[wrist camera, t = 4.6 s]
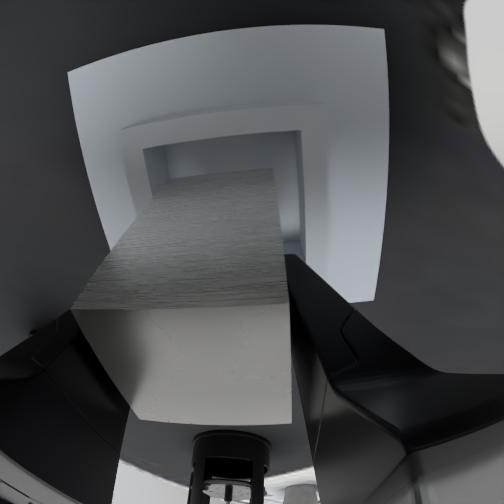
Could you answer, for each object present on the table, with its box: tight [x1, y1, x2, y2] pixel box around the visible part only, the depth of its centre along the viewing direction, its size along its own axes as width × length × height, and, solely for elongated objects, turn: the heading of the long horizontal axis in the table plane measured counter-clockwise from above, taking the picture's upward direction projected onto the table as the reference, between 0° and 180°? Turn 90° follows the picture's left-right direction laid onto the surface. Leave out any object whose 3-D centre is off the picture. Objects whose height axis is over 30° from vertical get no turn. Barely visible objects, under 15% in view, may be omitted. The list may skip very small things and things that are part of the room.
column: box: [70, 168, 292, 425], centre depth 9 cm, size 5×4×8 cm
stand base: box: [68, 25, 389, 303], centre depth 14 cm, size 16×16×4 cm
